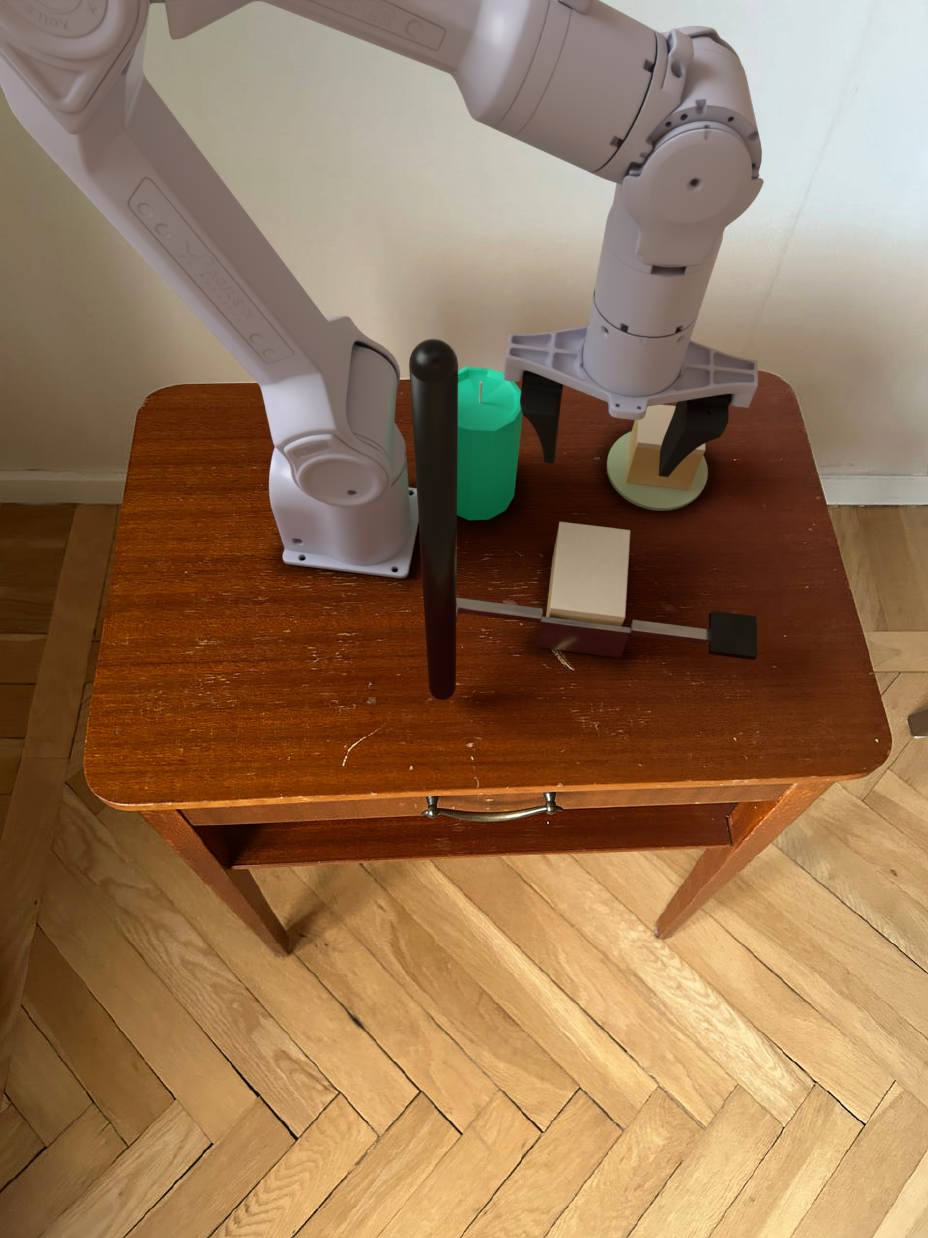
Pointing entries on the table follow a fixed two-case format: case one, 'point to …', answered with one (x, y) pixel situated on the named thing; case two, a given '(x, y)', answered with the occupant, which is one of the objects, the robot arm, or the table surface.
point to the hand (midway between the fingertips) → (607, 458)
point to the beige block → (657, 452)
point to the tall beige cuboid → (589, 574)
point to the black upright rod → (438, 544)
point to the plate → (649, 494)
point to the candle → (486, 442)
